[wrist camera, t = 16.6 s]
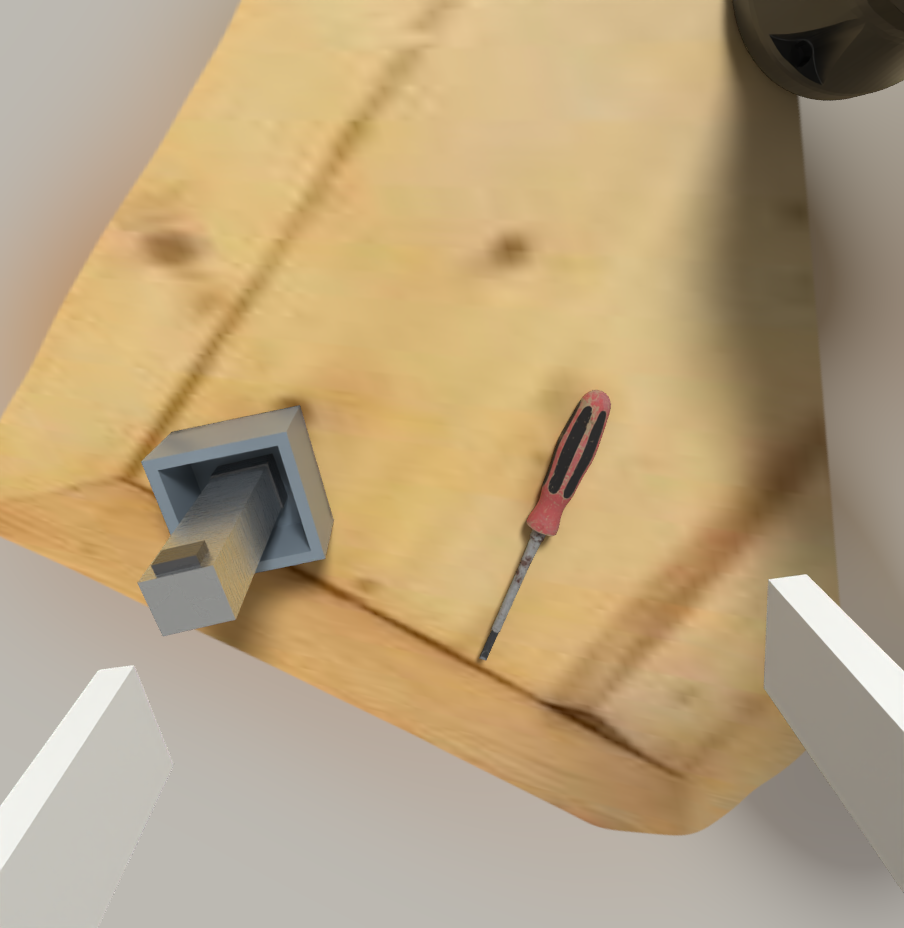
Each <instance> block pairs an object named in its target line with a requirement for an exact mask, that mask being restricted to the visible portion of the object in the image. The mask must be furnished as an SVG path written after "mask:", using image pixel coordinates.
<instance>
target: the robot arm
mask: <svg viewBox="0 0 904 928" xmlns="http://www.w3.org/2000/svg"><path fill="white" fill-rule="evenodd" d="M733 6H734V11H735V17H736V21H737V24H738V28H739V31H740V34H741V36H742V39H743V41H744V43H745V46H746V47H747V49H748V51H749V53H750V55H751V56H752V58H753V59H754V61H755V62H756V64H757V65H758V66H759V68H760V69H761V70H762V71H763V72H764V73H765V74H766V75H767V76H768V77H769V78H770V79H771V80H772V81H774V82H775V83H776V84H778V85H779V86H781V87H782V88H784V89H786V90H788V91H790V92H792V93H794V94H796V95H799V96H802V97H806V98H810V99H815V100H842V99H848V98H853V97H857V96H861V95H865V94H868V93H873V92H877V91H880V90H883V89H885V88H888V87H890V86H893V85H895V84H897V83H899V82H901V81H903V80H904V0H733ZM764 689H765V690H766V692H767V693H768V695H769V696H770V698H771V699H772V701H773V702H774V704H775V705H776V706H777V708H778V709H779V711H780V712H781V714H782V715H783V717H784V718H785V720H786V721H787V723H788V724H789V726H790V727H791V728H792V730H793V731H794V733H795V734H796V736H797V737H798V739H799V740H800V742H801V743H802V745H803V746H804V748H805V749H806V750H807V752H808V753H809V755H810V756H811V757H812V759H813V761H814V762H815V764H816V765H817V767H818V768H819V770H820V771H821V773H822V774H823V775H824V777H825V778H826V780H827V781H828V783H829V784H830V786H831V787H832V789H833V790H834V792H835V793H836V794H837V796H838V797H839V799H840V800H841V802H842V803H843V805H844V806H845V808H846V809H847V811H848V812H849V813H850V815H851V816H852V818H853V819H854V821H855V822H856V824H857V825H858V826H859V828H860V830H861V831H862V833H863V834H864V836H865V837H866V838H867V840H868V841H869V843H870V844H871V846H872V847H873V849H874V850H875V852H876V853H877V855H878V856H879V858H880V859H881V861H882V862H883V864H884V865H885V866H886V868H887V869H888V871H889V872H890V874H891V875H892V877H893V878H894V880H895V881H896V883H897V884H898V885H899V887H900V888H901V890H902V891H903V893H904V671H903V670H902V669H901V668H900V667H899V666H898V665H897V664H896V663H895V662H894V661H893V660H892V659H891V658H890V657H889V656H888V655H887V654H886V653H885V652H884V651H883V650H882V649H881V648H880V647H879V646H878V645H877V644H876V643H875V642H874V641H873V640H872V639H871V638H870V637H869V636H868V635H867V634H866V633H865V632H864V631H863V630H862V629H861V628H860V627H859V626H858V625H857V624H856V623H855V622H854V621H853V620H852V619H851V618H850V617H849V616H848V615H847V614H846V613H845V612H844V611H843V610H842V609H841V608H840V607H839V606H838V605H837V604H836V603H835V602H834V601H833V600H832V599H831V598H830V597H829V596H828V595H827V594H826V593H825V592H824V591H823V590H822V589H821V588H820V587H819V586H818V585H817V584H816V583H815V582H814V581H813V580H812V579H811V578H810V577H809V576H808V575H807V574H805V575H798V576H790V577H783V578H776V579H768V599H767V623H766V647H765V671H764ZM173 766H174V764H173V761H172V759H171V756H170V754H169V751H168V748H167V746H166V743H165V741H164V739H163V736H162V733H161V731H160V728H159V726H158V723H157V721H156V718H155V716H154V713H153V711H152V708H151V706H150V703H149V701H148V698H147V696H146V693H145V690H144V688H143V685H142V683H141V680H140V678H139V675H138V673H137V670H136V668H135V666H134V665H132V666H125V667H117V668H110V669H103V670H98V672H97V673H96V675H95V676H94V677H93V678H92V680H91V681H90V683H89V684H88V685H87V687H86V688H85V689H84V691H83V692H82V694H81V695H80V696H79V698H78V699H77V701H76V702H75V704H74V705H73V706H72V708H71V709H70V710H69V712H68V713H67V715H66V716H65V717H64V719H63V720H62V722H61V723H60V724H59V726H58V727H57V728H56V730H55V731H54V732H53V734H52V735H51V737H50V738H49V739H48V741H47V742H46V744H45V745H44V746H43V748H42V749H41V750H40V752H39V753H38V755H37V756H36V757H35V759H34V760H33V762H32V763H31V764H30V766H29V767H28V768H27V770H26V771H25V773H24V774H23V776H22V777H21V778H20V780H19V781H18V782H17V784H16V785H15V786H14V788H13V789H12V791H11V792H10V793H9V795H8V796H7V798H6V799H5V800H4V802H3V803H2V805H1V806H0V928H98V927H99V924H100V922H101V920H102V918H103V916H104V914H105V912H106V910H107V907H108V905H109V903H110V901H111V899H112V897H113V895H114V892H115V890H116V888H117V886H118V884H119V882H120V879H121V877H122V875H123V873H124V871H125V869H126V866H127V864H128V862H129V860H130V858H131V856H132V854H133V852H134V849H135V847H136V845H137V843H138V841H139V839H140V837H141V834H142V832H143V830H144V828H145V826H146V824H147V822H148V819H149V817H150V815H151V813H152V811H153V808H154V806H155V804H156V802H157V800H158V798H159V796H160V793H161V791H162V789H163V787H164V785H165V783H166V781H167V779H168V776H169V774H170V772H171V770H172V768H173Z"/></svg>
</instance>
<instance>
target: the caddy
mask: <svg viewBox="0 0 904 928" xmlns="http://www.w3.org/2000/svg"><path fill="white" fill-rule="evenodd" d="M271 453H273V456H274V458H275V461H276V464H277V467H278V470H279V473H280V475H281V478H282V481H283V484H284V487H285V490H286V492H287V495H288V497H287V500H286V502H285V505H284V507H283V508H281V510H280V512H279V514H278V517H277V519H276V522H275V524H274V527H273V529H272V532H271V534H270V537H269V539H268V542H267V544H266V546H265V549H264V551H263V554H262V556H261V559H260V561H259V564H258V566H257V569H256V571H255V573H258V572H263V571H268V570H273V569H277V568H282V567H287V566H292V565H297V564H302V563H307V562H312V561H316V560H321V559H325V558H326V553H327V549H328V544H329V540H330V535H331V531H332V526H333V522H334V520H333V516H332V513H331V509H330V506H329V503H328V499H327V496H326V492H325V489H324V485H323V482H322V479H321V475H320V472H319V468H318V465H317V462H316V458H315V455H314V451H313V448H312V445H311V441H310V438H309V434H308V431H307V428H306V424H305V421H304V417H303V414H302V411H301V407H300V405H299V406H294V407H290V408H285V409H280V410H275V411H270V412H265V413H261V414H256V415H251V416H246V417H241V418H236V419H232V420H227V421H222V422H217V423H212V424H208V425H203V426H198V427H193V428H188V429H183V430H179V431H174V432H171V433H170V434H169V435H168V436H167V437H166V438H165V439H164V440H163V441H162V442H161V443H160V444H159V445H158V446H157V447H156V448H155V449H154V450H153V451H152V452H151V453H150V454H149V455H148V456H147V457H145V458H144V459H143V460H142V461H141V462H142V465H143V467H144V470H145V472H146V475H147V477H148V480H149V482H150V485H151V487H152V490H153V492H154V495H155V497H156V499H157V502H158V504H159V507H160V509H161V512H162V514H163V517H164V519H165V522H166V524H167V527H168V529H169V532H170V534H171V535H172V533H173V532H174V531H175V529H176V528H177V526H178V525H179V523H180V522H181V521H182V519H183V518H184V516H185V515H186V514H187V512H188V511H189V509H190V508H191V506H192V505H193V504H194V502H195V501H196V499H197V498H198V497H199V495H200V494H201V492H202V491H203V489H204V488H205V487H206V485H207V484H208V482H209V481H210V480H211V478H210V476H211V475H212V473H213V472H214V470H215V469H216V468H217V466H220V465H225V464H229V463H233V462H237V461H242V460H246V459H250V458H254V457H258V456H263V455H267V454H271Z"/></svg>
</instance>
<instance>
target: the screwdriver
mask: <svg viewBox="0 0 904 928" xmlns="http://www.w3.org/2000/svg"><path fill="white" fill-rule="evenodd" d="M610 409H611V403H610V399H609V397H608V396H607V394H606V393H604V392H602V391H599V390H592V391H590V392H588V393H586V394H585V395H584V396H583V397H582V399H581V400H580V402H579V404H578V405H577V407H576V409H575V410H574V412H573V414H572V416H571V417H570V419H569V421H568V423H567V425H566V426H565V428H564V430H563V432H562V434H561V436H560V438H559V440H558V442H557V445H556V448H555V451H554V455H553V458H552V461H551V464H550V467H549V470H548V472H547V475H546V477H545V480H544V482H543V486H542V491H541V496H540V499H539V501H538V503H537V505H536V506H535V508H534V509H533V511H532V512H531V513H530V515H529V516H528V518H527V521H526V522H527V524H528V526H529V527H531V528H532V529H533V530H532V532H531V534H530V540H529V542H528V545H527V547H526V550H525V552H524V555H523V557H522V560H521V562H520V565H519V567H518V569H517V572H516V574H515V576H514V578H513V581H512V583H511V585H510V588H509V590H508V592H507V594H506V597H505V599H504V601H503V604H502V606H501V608H500V610H499V613H498V615H497V617H496V619H495V622H494V624H493V626H492V630H491V633H490V635H489V637H488V639H487V642H486V644H485V646H484V648H483V651H482V653H481V655H480V657H479V658H480V659H483V660H487V658H488V655H489V653H490V651H491V648H492V646H493V644H494V642H495V639H496V637H497V635H498V633H499V632H500V630H501V628H502V626H503V623H504V621H505V619H506V617H507V614H508V612H509V610H510V608H511V606H512V603H513V601H514V599H515V597H516V594H517V592H518V590H519V588H520V585H521V583H522V581H523V579H524V577H525V574H526V572H527V570H528V568H529V566H530V564H531V562H532V560H533V558H534V556H535V554H536V552H537V550H538V548H539V546H540V543H541V542H542V541H543V540H544V538H545V535H548V536H554V535H556V533H557V531H558V528H559V523H560V518H561V515H562V512H563V510H564V508H565V506H566V505H567V503H568V502H569V501H570V500H571V498H572V497H573V495H574V493H575V491H576V489H577V487H578V485H579V483H580V481H581V480H582V478H583V476H584V474H585V473H586V471H587V469H588V468H589V466H590V465H591V463H592V461H593V459H594V457H595V455H596V452H597V449H598V447H599V444H600V441H601V438H602V435H603V432H604V429H605V426H606V422H607V419H608V416H609V413H610Z"/></svg>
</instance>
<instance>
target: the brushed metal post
mask: <svg viewBox="0 0 904 928" xmlns="http://www.w3.org/2000/svg"><path fill="white" fill-rule="evenodd" d="M210 478H211V480H210V481H209V482H208V484H207V485H206V487H205V488H204V489H203V491H202V492H201V494H200V495H199V497H198V498H197V499H196V501H195V502H194V504H193V505H192V506H191V508H190V509H189V511H188V512H187V514H186V515H185V516H184V518H183V519H182V521H181V522H180V523H179V525H178V526H177V528H176V529H175V531H174V532H173V533H172V535H171V536H170V538H169V539H168V540H167V542H166V543H165V545H164V546H163V548H162V549H161V550H160V552H159V553H158V555H157V556H156V557H155V559H154V560H153V562H152V563H151V564H150V566H149V567H148V569H147V570H146V572H145V573H144V574H143V576H142V577H141V579H140V580H139V581H138V585H139V587H140V589H141V591H142V594H143V596H144V598H145V600H146V602H147V604H148V606H149V608H150V610H151V612H152V615H153V616H154V619H155V621H156V623H157V625H158V627H159V629H160V631H161V633H162V636H167V635H171V634H175V633H180V632H184V631H188V630H193V629H197V628H202V627H206V626H210V625H215V624H219V623H223V622H227V621H232V620H236V618H237V615H238V613H239V610H240V608H241V606H242V603H243V601H244V598H245V596H246V593H247V591H248V588H249V586H250V583H251V581H252V578H253V576H254V574H255V571H256V569H257V566H258V564H259V561H260V559H261V556H262V554H263V551H264V549H265V546H266V544H267V542H268V539H269V537H270V534H271V532H272V529H273V527H274V524H275V522H276V519H277V517H278V514H279V512H280V510H281V508H283V507H284V505H285V502H286V500H287V497H288V495H287V492H286V490H285V487H284V484H283V481H282V478H281V475H280V473H279V470H278V467H277V464H276V461H275V458H274V456H273V453H271V454H267V455H263V456H258V457H254V458H250V459H246V460H242V461H237V462H233V463H229V464H225V465H220V466H217V468H216V469H215V470H214V472H213V473H212V475H211V476H210Z"/></svg>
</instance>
